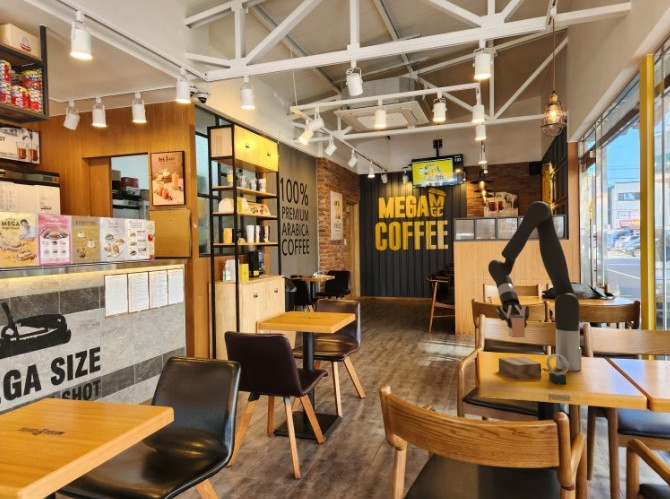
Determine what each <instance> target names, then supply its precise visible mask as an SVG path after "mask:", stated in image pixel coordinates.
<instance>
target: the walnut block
mask: <svg viewBox="0 0 670 499" xmlns="http://www.w3.org/2000/svg"><path fill="white" fill-rule="evenodd" d="M498 372H499V373H501V374H503V375H506V376H507V377H509V378H511V379H513V380H524V379H537V378H538V379H541V378H542V363H541V362H538V361H535V360H533V359H531V358H529V357H526V356H513V357H498Z"/></svg>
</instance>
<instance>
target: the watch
mask: <svg viewBox="0 0 670 499" xmlns="http://www.w3.org/2000/svg"><path fill="white" fill-rule="evenodd" d="M556 356H559V360H560V362H561V363H562V364H563V365H564V367H565V369H564V370H561V371H559V372H554V370H553V367H552V366H551V362H550V361H551V360H552V358H556ZM546 366H547V369H548V371H549V373H548V380H549V382H551V383H553V384H554V385H567V375H565V374H566V373H567V372H568V371H567V370H568V369H569V363H568V361H567V360H566V359H565V357H564V356H563V355H559V354H556V353H552V354H550V355H549V356H548V357H547V358H546Z"/></svg>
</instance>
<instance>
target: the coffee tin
mask: <svg viewBox="0 0 670 499" xmlns="http://www.w3.org/2000/svg"><path fill="white" fill-rule="evenodd" d="M523 315H524V314H523ZM523 315H520V314H510V315H509V317H510V319H511V323H512V328H509V327H508V336H509V337H511V338H526V334H525V333H526V331H525V329H526V328H525V326H524V318H525V315H524V316H523Z"/></svg>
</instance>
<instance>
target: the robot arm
mask: <svg viewBox="0 0 670 499" xmlns="http://www.w3.org/2000/svg"><path fill="white" fill-rule="evenodd" d="M535 229H536V230H537V236H538V247H539V253H540V257H541V260H542V265H543V266H544V267H543V268H544V269H545V271H546V273H547V276H548V278H549V280H550V282H551V284H552V288H553V293H554V298H555V302H554V309H555V310H554V316H555V317H554V318H555V320H554V322H555V323H554V324H555V354H559V355H563V356H564V357H565V359H566V360H567V361H568V363H569V369H568V370H567V372H577V371H582V348H581V347H580V302H579V298H578V297H577V295H576V293H575V291H574V288H573V286H572V282H571V279H570V274H569V269H568V263H567V259H566V256H565V253H564V249H563V247H562V244H561V241H560V238H559V236H558V233H557V231H556V228H555V223H554V218H553V213H552V208H551V207H550V205H549V204H548V203H547V202H544V201H533V202H532V203H530V204H529V206H528V207H527V210H526V211H525V213H524V216H523V218H522V220H521V222H520V224H519V225H518V227H517V229H516V230H515V232H514V234H513V235H512V236H511V237H510V239H509V241H508V242H507V243H506V245H505V246H504V248H503V249H502V251H501V256H502V257H503V258H504V261H501V260H499V259H493V260H490V262H489V263H488V265H487V266H488V267H487V268H488V270H487V271H488V273H489V275H490V277H491V278H492V279H493V281H494V282H495V285H496V288H497V294H498V298H499V301H500V304H501V306H499V305H498V306H496V309H495V312H496V314H497V315H498V317H499V319H500V320H501V321H505V322H506V326H507V327H508V329H509V328H512V323H511V319H510V317H509V315H510V314H520V315H523V316H525V318H524V326H525V329H526V328H527V326H528V323H527V321H528V320H529V317H530V307H529V305H526V306H523V305H522V304H521V302H520V300H519V297H518V296H519V295H518V294H517V290H516V288H515V287H514V283H513V280H512V278H511V276H510V274H512V271H513V268H514V266H515V263H516V260H517V258H518V257H519V256H520V254H521V252H522V251H523V250H524V248H525V246H526V245H527V242H528V240H529V238H530V237H531V235H532V233H533V232H534V230H535ZM505 313H506V314H505ZM555 368H556V369H558V370H561V371H563V370H564V369H565V367H564V365H563V364H562V363H561V362H560V360H559V356H555Z"/></svg>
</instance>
